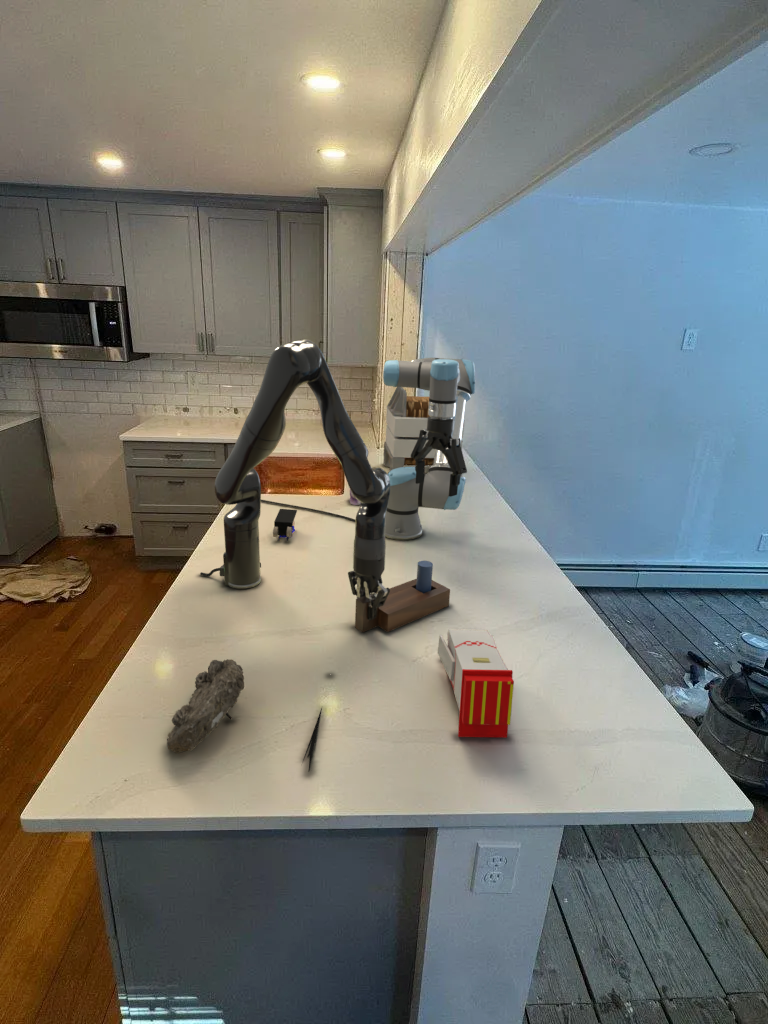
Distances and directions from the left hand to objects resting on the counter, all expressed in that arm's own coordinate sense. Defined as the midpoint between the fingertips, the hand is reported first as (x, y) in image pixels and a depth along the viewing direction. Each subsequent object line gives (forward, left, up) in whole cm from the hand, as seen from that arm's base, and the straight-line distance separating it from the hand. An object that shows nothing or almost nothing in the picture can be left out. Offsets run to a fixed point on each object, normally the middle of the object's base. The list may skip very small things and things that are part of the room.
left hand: (367, 615), depth 140 cm
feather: (-7, -34, -3) cm, 35 cm away
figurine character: (-31, +56, -3) cm, 64 cm away
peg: (+14, +13, -3) cm, 20 cm away
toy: (+23, -23, -3) cm, 33 cm away
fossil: (-28, -35, -3) cm, 45 cm away
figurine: (-8, +95, -3) cm, 95 cm away
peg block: (+8, +7, -3) cm, 11 cm away
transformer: (+18, +143, -3) cm, 144 cm away
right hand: (+17, +36, +22) cm, 46 cm away
